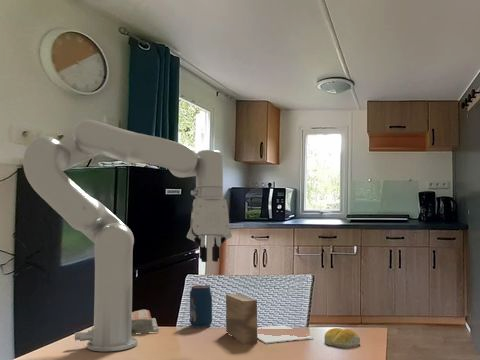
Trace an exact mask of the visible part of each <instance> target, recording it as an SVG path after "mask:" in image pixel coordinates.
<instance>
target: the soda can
mask: <svg viewBox="0 0 480 360" xmlns="http://www.w3.org/2000/svg"><path fill="white" fill-rule="evenodd" d="M212 322H213V292H212V290H211V286H210V285H193V286H191V289H190V292H189V323H190V325H191V326H192V327H193V328H203V329H204V328H208V327H210V326H211V324H212Z"/></svg>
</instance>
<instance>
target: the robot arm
mask: <svg viewBox="0 0 480 360" xmlns="http://www.w3.org/2000/svg"><path fill="white" fill-rule="evenodd" d="M72 132H73V133H72V134H71V135H70V136H67V137H65V138H62V139H60V140H58V139H57V138H54V137H53V136H50V135H40V136H37V137H35V138H33V139H32V140H31V141H30V142H29V143H28V144H27V146H26V148H25V151H24V154H23V159H22V160H23V161H22V162H23V163H22V164H23V172H24V175H25V178H26V179H27V182H28V183H29V184H30V186H31V188H32V189H33V190H34V191H35V192H36V193H37V195H39V196H40V198H41V199H42V200H44V201H45V203H47V204H48V205H49V206H50V207H51V208H52V209H53V210H54V211H55V212H56V213H57V214H58V215H60V217H62V218H63V219H64V221H66V222H67V223H68V224H69V225H70V226H69V227H71V228H72V229H74V230H75V231H79V232H81V233H82V234H83V235H85V236H86V237H87V238H88V240H89V241H91V242H92V243H93V244H94V247H93V248H94V249H93V250H94V298H93V299H94V302H93V303H94V305H93V326H92V327H91V330H87V331H86V332H85V331H84V332H83V331H80V332H79V331H77V332H74V341H79V342H84V341H88V342H86V347H87V349H88V350H90V351H92V352H93V351H94V352H104V353H105V352H119V351H125V350H128V349H131V348H135V347H136V346H137V345H138V339H137V338H136V337H134V336H132V335H131V331H132V312H133V258H134V257H133V251H134V250H133V249H134V244H135V237H134V234H133V232H132V230H131V228H129V226H127V224H125V223H123V222H122V221H121V219H119V218H118V217H117V216H116V214H114V213H113V212H112V211H111V210H109V208H107V207H106V206H105V205H104V204H103V203H102V202H100V201H99V200H98V199H96V198H94V197H92V196H90V195H89V194H88V193H87V192H85V190H83V189H82V188H81V187H80V186H79V185H78V184H76V182H75V181H74V180H72V178H70V177H69V176H68V175H67V174H66V173H65V171H67V170H70V169H72V168H74V167H77V166H79V165H81V164H83V163H85V162H88V161H89V160H92V159H94V158H95V157H98V156H103V157H107V158H110V159H113V160H117V161H120V162H124V163H126V164H148V165H153V166H157V167H161V168H165V169H168V170H169V172H170V173H171V174H172V175H173V176H174V177H177V178H190V177H195V188H194V189H193V190H192V189H191V191H190V195H191V196H193V197H194V198H195V199H193V202H192V207H191V214H190V215H191V216H190V228H189V230H188V232H187V235H186V238H187V239H188V240H191V241H193V242H194V243H195V244H196V245H198V246H197V247H199V259H200V260H201V262H202V263H207V262H208V248H207V247H206V236H213V246H212V248H211V251H212V252H211V257H212V259H211V261H213V262H215V263H216V262H217V263H218V262H219V259H220V247H221V245H222V244H223V243H224V242H225V241H226V240H228V239H231V238H232V237H233V234H232V232H231V230H230V218H229V210H228V209H229V208H228V203H227V199H225V198H224V177H223V176H224V173H223V172H224V171H223V170H224V169H223V168H224V165H223V163H224V158H223V157H224V156H223V154H222V152H221V151H219V150H215V149H203V150H199V151H198V152H197V153H196V151H195V150H194V149H193V148H192V147H190V146H188V145H186V144H184V143H180V142H178V141H173V140H170V139H167V138H163V137H159V136H153V135H148V134H144V133H138V132H135V131H131V130H127V129H123V128H120V127H117V126H114V125H111V124H107V123H104V122H100V121H98V120H95V119H83V120H80V121H79V122H78V123H76V124H75V126H74V128H73V131H72ZM197 236H198V237H197Z"/></svg>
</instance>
